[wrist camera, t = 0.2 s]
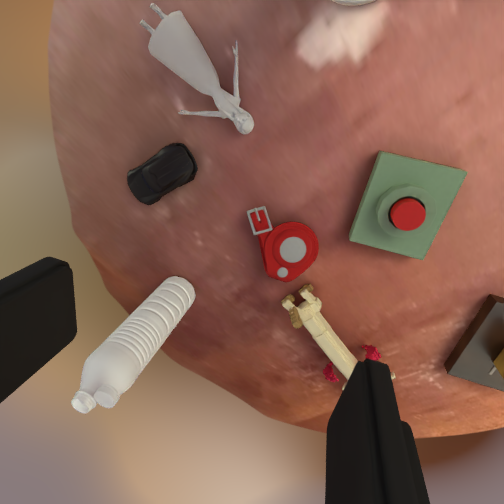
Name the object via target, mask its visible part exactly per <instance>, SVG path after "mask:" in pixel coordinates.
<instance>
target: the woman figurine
mask: <svg viewBox="0 0 504 504" xmlns="http://www.w3.org/2000/svg"><path fill="white" fill-rule="evenodd" d="M150 8H151V9H153V10H154V11H155V12H157V14H158V15H159V16H160V17H161V19H162V21H161V22H160V24H159V25H158V26H157V28H156V29H155V30H154V29H153V28H152V27H151V26H149V25H148V24H147V23H146V22H145V21H144V20H141V21H140V23H139V24H140V25H142V26H143V27H144V28H145V29H147V30H148V31H149V32H150V33H151V35H152V36H151V38H150V42H149V46H148V48H149V51H150V54H151V55H152V56H154V57H155V58H156V59H157V60H159V61H160V62H161V63H163V64H164V65H165V66H166V67H168V68H169V69H170V70H172V71H173V72H174V73H175V74H177V75H178V76H179V77H181V78H182V79H183V80H185V81H186V82H187V83H188V84H190V85H191V86H192V87H194V88H195V89H197V90H198V91H199V92H201V93H203V94H206V95H210V96H212V97H213V99H214V101H215V105H216V106H217V108H218V109H219V111H200V112H188V111H185V110H181V112H182V111H183V112H182V113H181V112H179V114H186V115H201V116H215V117H222V118H223V119H224V118H227V117H228V118H229V119H230V120H231V121H233V122H234V124H235V126H236V128H237V130H238V131H239V132H240V133H242V134H249V133H250V132H251V131H252V129H253V127H254V121H253V118H252V116H251V115H250V113H248V112H247V111H245V110H243V109H242V108H240V107H239V104H240V101H241V99H240V97H239V90H238V43H237V40H236V43H235V44H236V48H235V49H234V47H233V46H232V48H233V53H234V55H235V71H234V77H233V85H234V94H233V96H232V95H231V94H229V93H228V92H226V91H225V90H223V89H222V88H221V87H220V84H219V78H218V75H217V72H216V70H215V68H214V66H213V64H212V62H211V60H210V58H209V57H208V55H207V53H206V51H205V49H204V47H203V46H202V44H201V42H200V40H199V38H198V37H197V35H196V34H195V32H194V31H193V29H192V28H191V26H190V25H189V23H188V22H187V20H186V19H185V17H184V16H183V14H182V12H181V10H179V11H175V12H172V13H170V14H169V15H168V16H167V15H166V14H165V13H163V12H162V11H161V9H160V8H159V7H158V6H157V5H156V4H154V3H152V4H151V5H150Z"/></svg>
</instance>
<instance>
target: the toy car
mask: <svg viewBox="0 0 504 504" xmlns="http://www.w3.org/2000/svg"><path fill="white" fill-rule="evenodd" d="M183 153H184V154H183ZM186 164H187V165H186ZM197 169H198V168H197V164H196V161H195V159H194V157H193V155H192V154H191V152H190V151H189V150H188V148H187V147H186V146H185V145H184V144H182V143H172V144H170V145H168V146H165V147H164V148H162V149H161V150H160V151H159V152H158V153H157V154H156V155H154V156H153V157H152V158H150V159H149V160H147V161H146V162H145V163H143V164H142V165H140V166H138V167H137V168H135V169H133V170H132V171H131V170H130V171H129V172H128V175H127V181H128V186H129V188H130V190H131V192H132V193H133V195H134V196H135V197H136V198H137V199H138V200H139V201H140V202H142V203H144V204H146V205H152V204H154V203H155V202H157V201H159V200H160V198H161V197H162V196H164V195H165V194H167V193H169V192H170V191H172V190H174V189H175V188H177V187H180V186H182V185H183V184H186V183H188V182H190V181H192V180H193V179H194V177H195V175H196V172H197ZM141 172H142V173H141ZM150 189H151V190H152V191H151V190H150Z"/></svg>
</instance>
